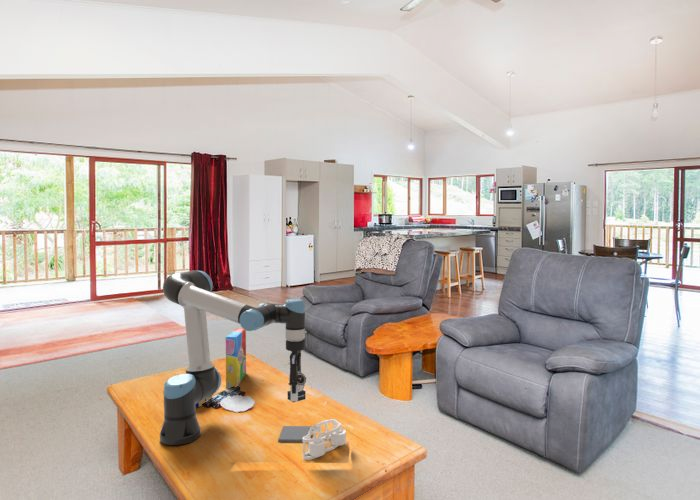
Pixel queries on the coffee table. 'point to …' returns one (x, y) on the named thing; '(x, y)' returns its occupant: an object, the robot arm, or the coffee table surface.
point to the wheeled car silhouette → (323, 439)
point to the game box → (235, 357)
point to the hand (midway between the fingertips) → (295, 397)
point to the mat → (293, 433)
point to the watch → (299, 387)
